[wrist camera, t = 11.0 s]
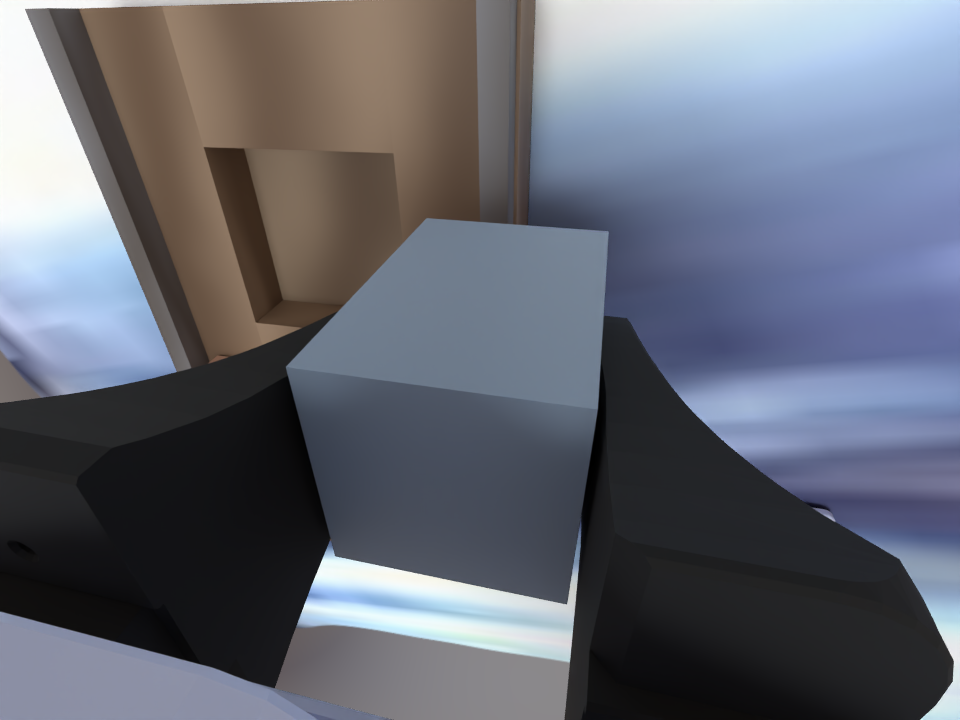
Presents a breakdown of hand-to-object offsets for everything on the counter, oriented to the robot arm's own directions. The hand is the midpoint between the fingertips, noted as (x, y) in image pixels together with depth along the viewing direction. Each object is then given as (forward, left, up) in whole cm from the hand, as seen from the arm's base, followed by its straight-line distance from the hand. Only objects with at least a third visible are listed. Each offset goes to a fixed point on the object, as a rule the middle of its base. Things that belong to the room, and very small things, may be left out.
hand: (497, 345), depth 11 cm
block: (0, 0, -2) cm, 2 cm away
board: (+8, +4, -8) cm, 12 cm away
